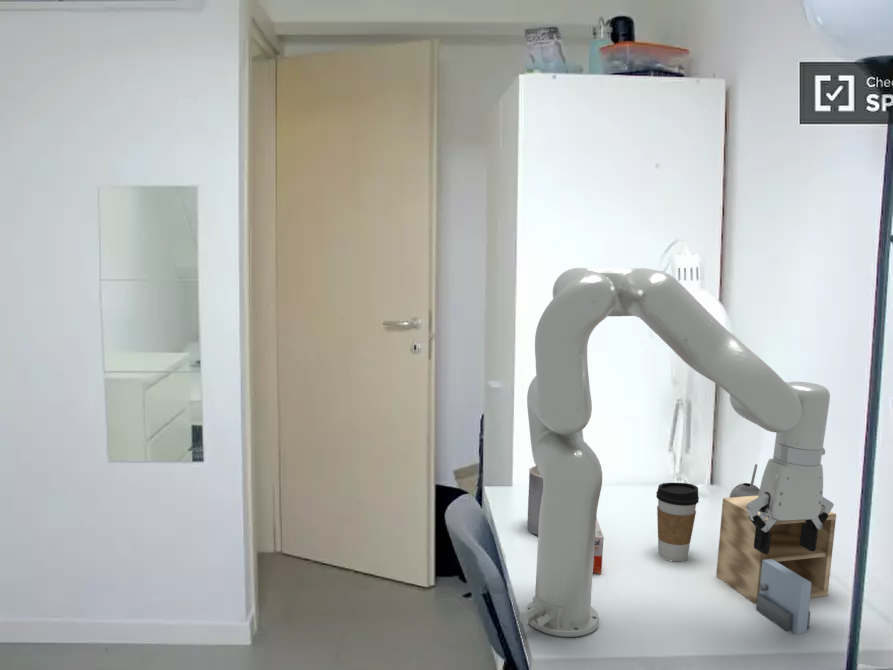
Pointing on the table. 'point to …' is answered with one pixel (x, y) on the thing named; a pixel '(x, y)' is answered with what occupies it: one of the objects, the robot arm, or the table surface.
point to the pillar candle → (534, 499)
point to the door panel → (787, 592)
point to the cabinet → (770, 550)
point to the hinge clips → (776, 612)
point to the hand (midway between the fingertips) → (784, 549)
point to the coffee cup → (675, 519)
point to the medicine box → (598, 549)
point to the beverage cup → (746, 488)
